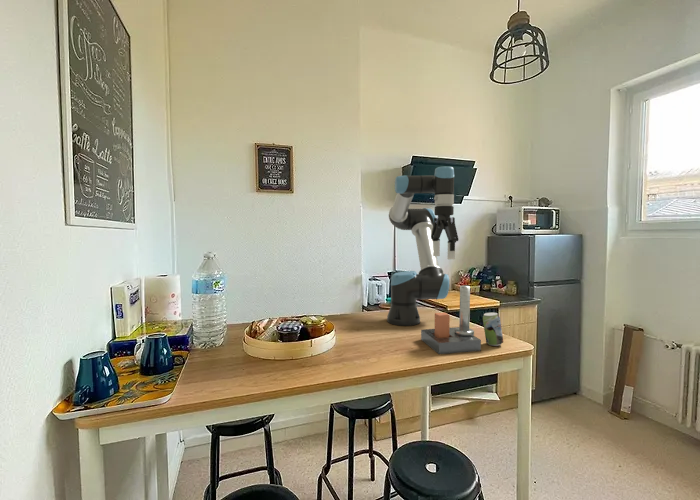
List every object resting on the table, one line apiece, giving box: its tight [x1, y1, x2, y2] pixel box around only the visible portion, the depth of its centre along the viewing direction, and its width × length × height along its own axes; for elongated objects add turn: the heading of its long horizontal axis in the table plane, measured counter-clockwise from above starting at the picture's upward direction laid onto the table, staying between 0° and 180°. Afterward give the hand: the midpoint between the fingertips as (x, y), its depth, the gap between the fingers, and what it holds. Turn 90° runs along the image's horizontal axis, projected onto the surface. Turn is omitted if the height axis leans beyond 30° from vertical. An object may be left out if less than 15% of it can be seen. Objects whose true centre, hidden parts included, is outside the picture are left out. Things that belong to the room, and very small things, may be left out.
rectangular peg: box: [434, 312, 451, 338], centre depth 130 cm, size 4×4×12 cm
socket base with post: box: [420, 285, 482, 355], centre depth 130 cm, size 16×18×22 cm
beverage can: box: [482, 311, 504, 347], centre depth 131 cm, size 6×7×12 cm
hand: (443, 257), depth 143 cm, fingers open, 13 cm apart
